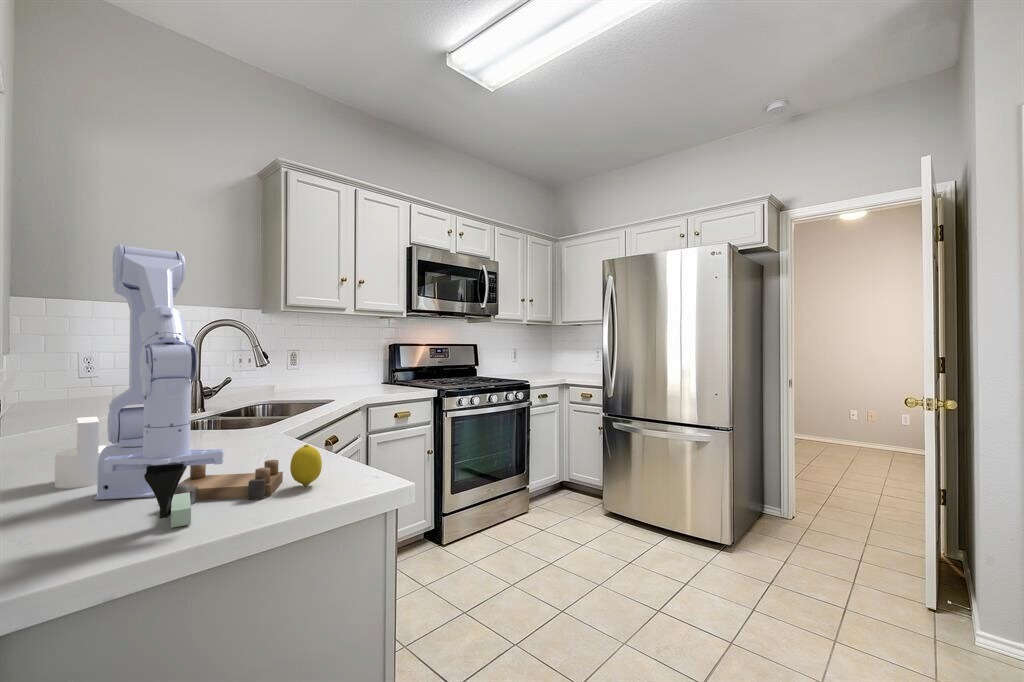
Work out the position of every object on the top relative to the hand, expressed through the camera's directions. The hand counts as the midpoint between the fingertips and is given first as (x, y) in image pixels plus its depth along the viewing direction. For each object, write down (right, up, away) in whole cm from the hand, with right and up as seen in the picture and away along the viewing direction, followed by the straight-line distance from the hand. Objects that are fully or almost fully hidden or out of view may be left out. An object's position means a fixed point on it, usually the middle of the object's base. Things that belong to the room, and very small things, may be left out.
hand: (165, 516), depth 70 cm
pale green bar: (0, -1, +3) cm, 3 cm away
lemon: (+12, -2, +20) cm, 24 cm away
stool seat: (0, -2, +15) cm, 15 cm away
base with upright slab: (-32, -2, +22) cm, 39 cm away
